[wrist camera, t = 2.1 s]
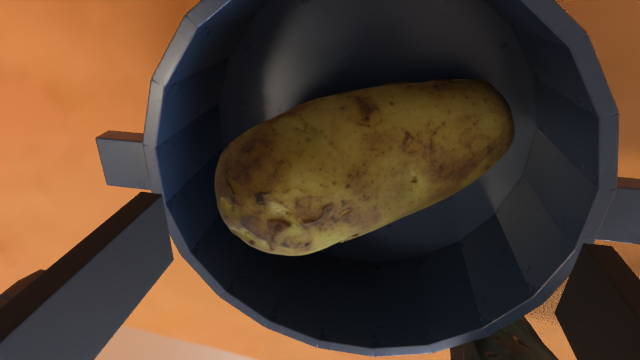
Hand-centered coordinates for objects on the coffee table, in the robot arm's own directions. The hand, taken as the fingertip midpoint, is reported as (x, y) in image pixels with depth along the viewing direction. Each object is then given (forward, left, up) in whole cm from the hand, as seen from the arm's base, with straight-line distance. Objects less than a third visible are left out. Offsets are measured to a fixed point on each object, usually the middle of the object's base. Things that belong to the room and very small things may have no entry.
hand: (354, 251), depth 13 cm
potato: (0, 0, -10) cm, 10 cm away
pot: (0, 0, -10) cm, 10 cm away
